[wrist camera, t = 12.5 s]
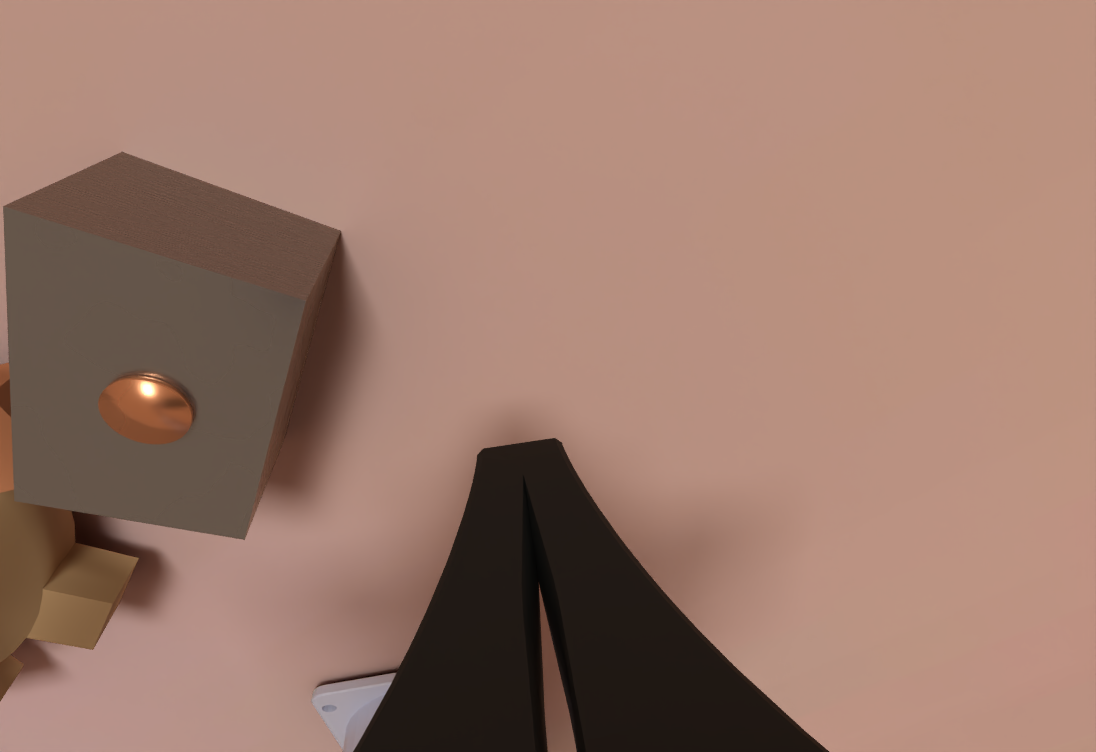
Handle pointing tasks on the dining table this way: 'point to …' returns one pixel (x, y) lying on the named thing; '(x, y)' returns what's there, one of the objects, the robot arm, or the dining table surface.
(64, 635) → the sprocket wheel
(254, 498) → the link block
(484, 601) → the robot arm
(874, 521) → the dining table surface
